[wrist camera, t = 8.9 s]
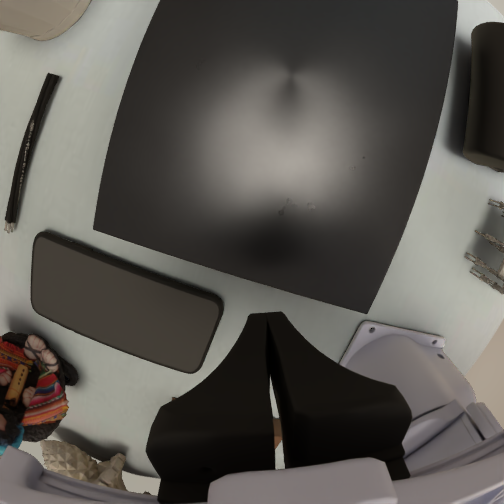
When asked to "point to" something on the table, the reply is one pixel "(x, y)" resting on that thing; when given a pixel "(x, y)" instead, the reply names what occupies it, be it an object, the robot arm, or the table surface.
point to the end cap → (486, 97)
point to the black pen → (28, 149)
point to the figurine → (31, 389)
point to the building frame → (502, 272)
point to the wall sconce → (83, 465)
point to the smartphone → (122, 304)
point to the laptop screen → (279, 138)
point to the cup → (40, 16)
